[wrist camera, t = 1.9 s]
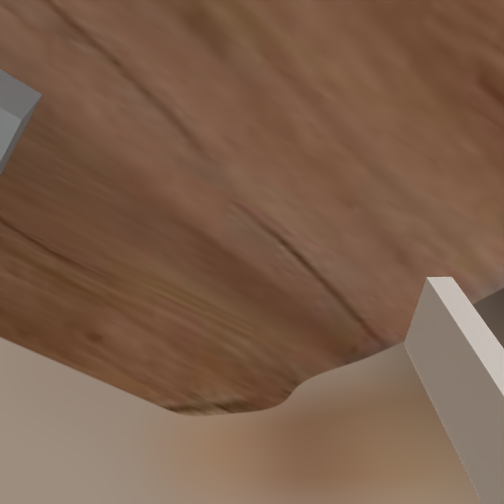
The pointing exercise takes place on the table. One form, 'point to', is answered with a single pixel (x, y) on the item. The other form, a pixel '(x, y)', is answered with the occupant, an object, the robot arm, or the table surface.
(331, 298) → the table surface
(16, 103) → the grey slotted rack
